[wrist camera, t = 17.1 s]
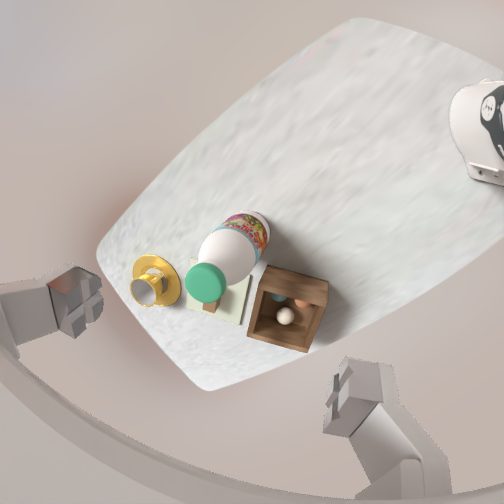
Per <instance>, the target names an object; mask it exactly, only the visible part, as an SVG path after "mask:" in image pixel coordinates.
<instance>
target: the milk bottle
mask: <svg viewBox="0 0 504 504" xmlns="http://www.w3.org/2000/svg"><path fill="white" fill-rule="evenodd" d="M269 238H270V229H269V226H268V224H267V222H266V220H265V219H264V218H263V217H262V216H261V215H259V214H258V213H256V212H253V211H249V210H243V211H239V212H237V213H235V214H234V215H232V216H231V217H230V218H228V219H227V220H226V221H225V222H224V223H222V224H221V225H220V226H219V227H218V228H217V229H216V230H214V231H213V232H212V233H211V234H210V235H209V236H208V237H207V238H206V240H205V241H204V243H203V244H202V246H201V249H200V252H199V259H198V261H199V262H198V263H196V264H195V265H194V266H193V267H192V268H191V269H190V270H189V272H188V273H187V275H186V278H185V285H186V288H187V291H188V292H189V294H190V295H191V296H192V297H193V298H194V299H196V300H197V301H199V302H202V303H213V302H216V301H217V300H219V299H220V298H221V296H222V295H223V293H224V292H225V290H226V289H227V287H228V286H231V285H235V284H237V283H239V282H241V281H242V280H244V279H245V278H246V277H247V276H248V275H249V274H250V272H251V271H252V269H253V268H254V267H255V265H256V263H257V262H258V260H259V258H260V256H261V255H262V253H263V251H264V249H265V248H266V246H267V244H268V241H269Z"/></svg>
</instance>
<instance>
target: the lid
mask: <svg viewBox="0 0 504 504" xmlns="http://www.w3.org/2000/svg"><path fill="white" fill-rule="evenodd" d="M198 262H199V261H198V258H194V257H191V259H190V269H191V268H192V267H193V266H194V265H195V264H196V263H198ZM190 269H189V270H190ZM250 275H251V274H249V275H248V276H247V277H246V278H245V279H244V280H242V281H241V282H239V283H237V284H235V285H231V286H228V287H227V289H226V290H225V292H224V293H223V295H222V296H221V298H220V299H219V300H217V301H216V302H213V303H202V302H199V301H197V300H196V299H194V298H193V297H192V296H191V295H190V294H189V292H188V291H187V301H186V308H189V309H192V310H194V311H197V312H200V313H203V314H206V315H209V316H212V317H215V318H218V319H221V320H224V321H227V322H230V323H233V324H236V325H239V324H240V321H241V316H242V312H243V307H244V302H245V298H246V293H247V289H248V284H249V280H250Z"/></svg>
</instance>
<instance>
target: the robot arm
mask: <svg viewBox="0 0 504 504" xmlns="http://www.w3.org/2000/svg"><path fill="white" fill-rule="evenodd" d="M449 120H450V128H451V133H452V136H453V139H454V141H455V144H456V146H457V147H458V149H459V151H460V152H461V154H462V155H463V157H464V159H465V162H466V166H467V170H468V174H469V176H470V177H471V178H473V179H477V180H481V181H485V182H489V183H494V184H498V185H502V186H504V81H496V82H494V81H493V80H492V79H491V78H484V79H482V80H481V81H480V82H479V83H478V84H476V85H471V86H467V87H464V88H462V89H461V90H460V91H459V92H458V93H457V94H456V95H455V97H454V99H453V101H452V103H451V107H450V115H449ZM479 171H481V174H480V175H479ZM101 287H102V283H101V278H100V277H99V276H98V275H96V274H94V273H91V272H89V271H87V270H85V269H83V268H81V267H78V266H76V265H74V264H72V263H68V262H66V263H64V264H63V265H60V266H59V267H57V268H56V269H54V270H52V271H50V272H49V273H47V274H45V275H44V276H42V277H41V278H39V279H35V278H33V279H27V280H21V281H15V282H9V283H3V284H0V504H504V483H501V484H498V485H494V486H491V487H486V488H482V489H478V490H473V491H468V492H463V493H458V494H452V485H451V477H450V470H449V464H448V458H447V456H446V455H445V454H444V453H443V451H442V450H441V449H440V448H439V447H438V445H437V444H436V443H435V442H434V441H433V439H432V438H431V437H430V436H429V435H428V433H427V432H426V431H425V430H424V429H423V427H422V426H421V425H420V424H419V423H418V421H417V420H416V419H415V418H414V417H413V416H412V414H411V413H410V412H409V411H408V410H407V408H406V407H405V406H401V405H400V401H399V395H398V390H397V384H396V378H395V373H394V368H393V366H392V365H389V364H384V363H378V362H377V363H375V362H370V361H366V360H361V359H356V358H352V357H347V356H345V357H344V359H343V360H342V362H341V364H340V366H339V367H340V368H339V373H338V374H336V375H334V376H333V378H332V380H331V383H330V385H329V388H328V391H327V395H326V402H325V404H326V405H327V407H328V408H329V409H328V410H327V412H326V414H325V415H324V424H323V433H326V434H331V435H336V436H342V437H347V438H349V441H350V443H351V445H352V447H353V449H354V451H355V453H356V454H357V457H358V458H359V460H360V462H361V464H362V466H363V468H364V470H365V472H366V474H367V476H368V478H369V480H370V482H371V485H370V486H368V487H367V488H365V489H364V490H362V491H361V492H360V493H358V494H357V495H355V499H340V498H329V497H320V496H313V495H306V494H299V493H293V492H288V491H282V490H277V489H272V488H268V487H263V486H259V485H255V484H251V483H247V482H243V481H239V480H236V479H233V478H229V477H226V476H223V475H220V474H216V473H214V472H211V471H208V470H205V469H202V468H199V467H196V466H194V465H191V464H188V463H186V462H183V461H181V460H178V459H176V458H173V457H171V456H169V455H166V454H164V453H162V452H159V451H157V450H155V449H153V448H151V447H149V446H147V445H145V444H143V443H141V442H138V441H137V440H135V439H133V438H131V437H129V436H127V435H125V434H123V433H121V432H119V431H117V430H116V429H114V428H112V427H111V426H109V425H107V424H105V423H104V422H102V421H100V420H98V419H97V418H95V417H93V416H92V415H90V414H89V413H87V412H86V411H84V410H83V409H81V408H80V407H78V406H76V405H75V404H74V403H72V402H71V401H69V400H68V399H66V398H65V397H64V396H62V395H61V394H59V393H58V392H57V391H55V390H54V389H53V388H51V387H50V386H49V385H47V384H46V383H45V382H44V381H42V380H41V379H40V378H39V377H37V376H36V375H35V374H34V373H32V372H31V371H30V370H29V369H28V368H26V367H25V366H24V365H23V364H22V363H21V362H20V361H18V359H19V358H20V353H19V351H18V349H17V345H20V344H23V343H26V342H28V341H31V340H34V339H37V338H39V337H42V336H45V335H48V334H51V333H53V332H56V331H58V329H59V330H60V331H62V332H64V333H65V334H67V335H69V336H71V337H72V338H74V339H75V338H77V337H78V336H79V335H80V334H81V333H82V332H83V331H84V330H86V328H87V323H91V322H94V321H96V320H97V319H98V318H99V317H100V315H101V313H102V311H103V305H104V302H103V297H102V295H101V293H100V289H101Z"/></svg>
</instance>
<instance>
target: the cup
mask: <svg viewBox="0 0 504 504" xmlns="http://www.w3.org/2000/svg"><path fill="white" fill-rule="evenodd" d="M150 268H156V269H158V270H160V271H161V272H162V273H163V274H164V275H165V276H166V278H167V281H168V289H167V290H166V291H165V292H164V293H162V287H163V283H162V280H161V278H162V277H163V274H162V273H159V274H158V275H156V274H145V272H146V271H147V270H148V269H150ZM130 291H131V294H132V296H133V298H134V299H135V300H136V301H137V302H138V303H139V304H141V305H143V306H146V307H151V306H153V305H154V304H156V305H159V306H169V305H171V304H173V303H175V302H176V301H177V299H178V298H179V296H180V291H181V286H180V281H179V278H178V275H177V273H176V272H175V270H174V269H173V268H172V266H171V265H170V264H169V263H168V262H166V261H165V260H164V259H162V258H160V257H158V256H155V255H144V256H142V257H140V258H139V259H137V261H136V262H135V264H134V267H133V280H132V281H131V284H130Z"/></svg>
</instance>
